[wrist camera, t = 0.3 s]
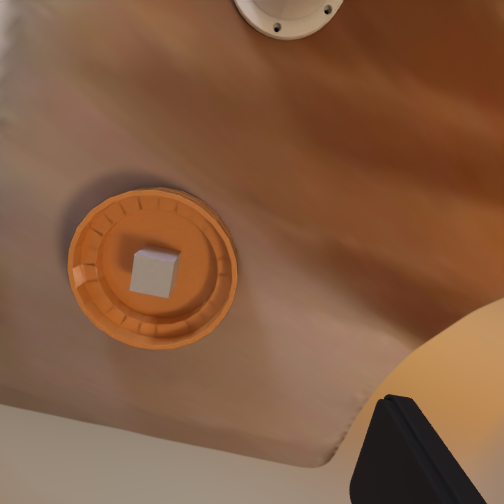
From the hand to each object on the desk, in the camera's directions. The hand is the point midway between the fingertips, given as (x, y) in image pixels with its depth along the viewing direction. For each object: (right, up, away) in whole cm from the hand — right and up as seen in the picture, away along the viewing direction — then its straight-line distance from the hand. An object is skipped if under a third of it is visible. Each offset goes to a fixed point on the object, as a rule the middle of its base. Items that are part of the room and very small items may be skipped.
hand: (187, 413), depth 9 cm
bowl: (-10, +2, +36) cm, 38 cm away
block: (-10, +2, +35) cm, 37 cm away
